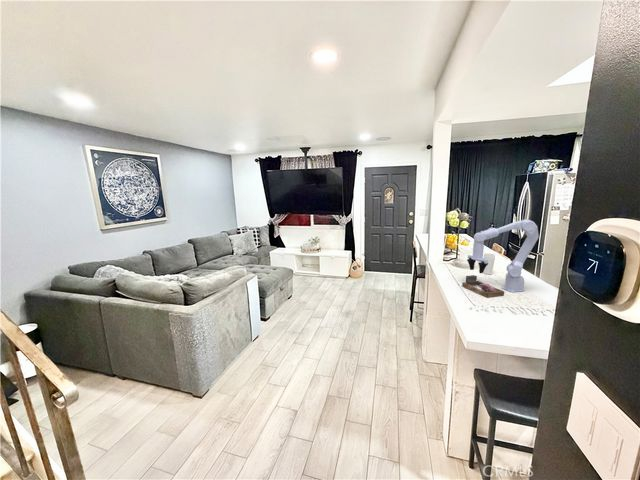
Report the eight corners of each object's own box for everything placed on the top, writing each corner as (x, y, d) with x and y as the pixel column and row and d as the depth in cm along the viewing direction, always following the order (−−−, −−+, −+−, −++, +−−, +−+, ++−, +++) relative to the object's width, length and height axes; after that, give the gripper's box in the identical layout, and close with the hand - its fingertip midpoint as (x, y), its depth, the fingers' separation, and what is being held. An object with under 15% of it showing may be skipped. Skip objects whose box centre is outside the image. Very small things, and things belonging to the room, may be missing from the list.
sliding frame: (461, 285, 168) (462, 276, 167) (477, 284, 170) (477, 274, 169) (486, 297, 149) (487, 286, 148) (503, 295, 151) (505, 284, 150)
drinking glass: (491, 272, 194) (493, 253, 191) (494, 275, 187) (496, 255, 185) (481, 272, 196) (483, 253, 193) (483, 274, 190) (485, 255, 187)
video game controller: (480, 292, 161) (476, 283, 159) (486, 288, 161) (482, 279, 160) (493, 298, 151) (490, 289, 150) (500, 294, 152) (496, 285, 150)
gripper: (464, 249, 172) (462, 268, 174) (482, 254, 158) (480, 275, 160) (473, 248, 173) (471, 267, 176) (491, 253, 159) (489, 274, 162)
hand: (476, 271), depth 168 cm, fingers open, 7 cm apart
